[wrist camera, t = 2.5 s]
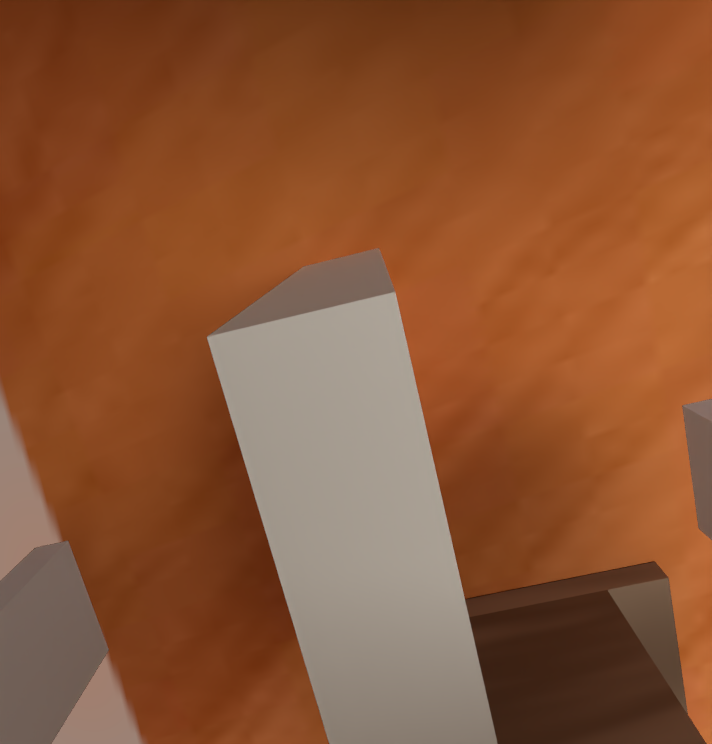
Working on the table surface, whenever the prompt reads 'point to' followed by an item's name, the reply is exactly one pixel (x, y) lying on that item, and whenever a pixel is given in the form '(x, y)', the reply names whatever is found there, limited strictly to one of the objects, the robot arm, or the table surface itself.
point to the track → (584, 661)
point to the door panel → (354, 505)
